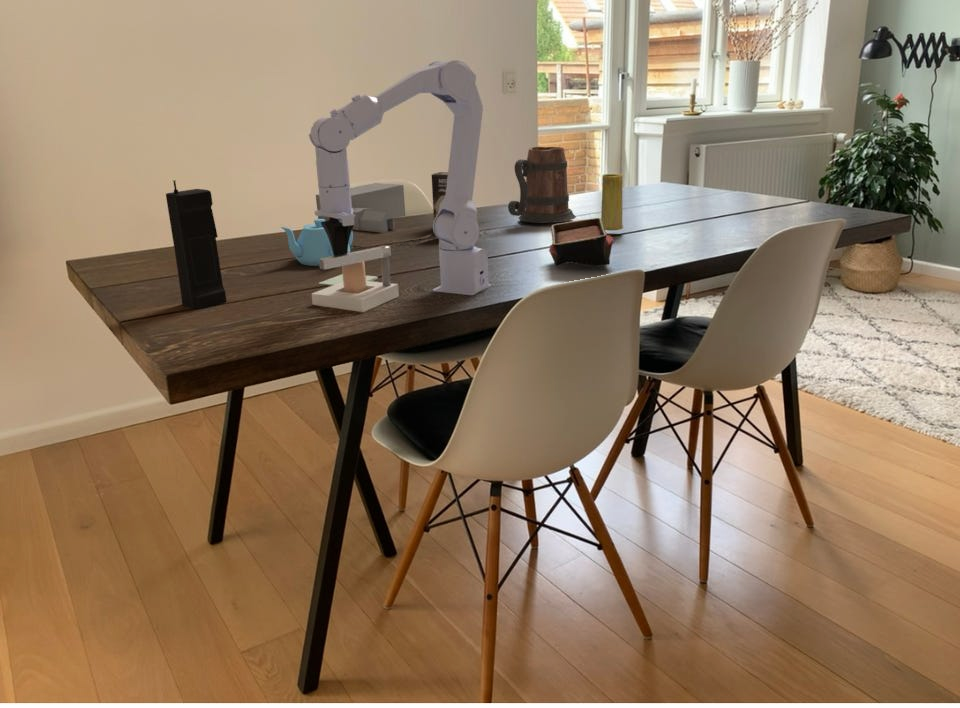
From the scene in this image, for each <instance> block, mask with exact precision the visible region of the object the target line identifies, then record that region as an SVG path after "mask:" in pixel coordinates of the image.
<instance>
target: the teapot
mask: <svg viewBox="0 0 960 708" xmlns="http://www.w3.org/2000/svg"><path fill="white" fill-rule="evenodd" d="M355 216H356V215H354V217H355ZM324 221H325V219H318V218H317V219H314V220H313V222H314V223H313V224H306V225H304V226H303V228H302V230H301V232H300V233H299V236H298V237H297V239H296V238H295V234H294V232H293V230H292V229H291V228H290V227H286V226H285V227H284V226H280V228H281V229H282V230H283V231H284V232H285V233H286V235H287V242H288V247H289V251H290V252H291V253H292V255H294V257H295V259H296V260H297V262H298V263H300V264H301V265H304V266H308V267H309V266H310V267H320V266H319V259H321V258H326V257H331V256H334V254H333V251H332V247H331V244H330V241H329V238H328V236H327V234H326V232H325V230H324V228H323V227H322V225H321V222H324ZM353 241H354V231H353V230H352V231H351V234H350V237H349V243H348V252H347V253H351V245H352V243H353Z"/></svg>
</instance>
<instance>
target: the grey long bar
mask: <svg viewBox="0 0 960 708" xmlns="http://www.w3.org/2000/svg"><path fill="white" fill-rule="evenodd" d="M391 250H392V249H391V246H390V245H380V246H377V247H372V248H367V249H362V250H356V251H352V252H351V251H350V253H346V254H341V255H336V256H331V257H326V258H321V259H319V266H318V267H319V269H321V270H323V271H325V270H331V269H334V268H338V267H339V268H340V267H342V266H344V265H349V264H354V263H359V262H363V261H364V262H368V261H372V260H373V261H374V260H376V259H381V258H382V257H389V258H390V257H391V256H392V252H391Z"/></svg>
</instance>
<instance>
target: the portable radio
mask: <svg viewBox="0 0 960 708" xmlns="http://www.w3.org/2000/svg"><path fill="white" fill-rule="evenodd" d="M176 182H177V180H175V179H174V180H173V187H174V190H173V192H167V193H165V198H166V199H165V200H166V205H167V210H168V217H169V223H170V230H171V236H172V242H173V248H174V255H175V256H174V257H175V261H176V268H177V275H178V282H179V289H180V297H181V306H184V307H188V308H190V309H194V310H202V309H207V308H210V307H213V306H217V305H218V306H219V305H221V304H225V303H227V295H226V290H225V287H224V285H223V278H222V273H221V272H222V271H221V265H220V264H221V263H220V258H219V251H218V243H217V238H218V232H217V227H216V222H215V221H216V220H215V217H214V213H213V209H212V206H213V204H214V203H213V199H212V198H213V197H212V191H210V190H208V189H203V188H202V189H200V188H193V189H186V190H178V189H177V184H176Z"/></svg>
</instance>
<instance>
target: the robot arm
mask: <svg viewBox="0 0 960 708" xmlns="http://www.w3.org/2000/svg"><path fill="white" fill-rule="evenodd" d="M476 80H477V75H476V73H475V72H474V71H473V70H472V69H471V68H470V66H469V65H468V64H467V63H465V62H464V61H463V60H460V59H454V60H450V61H449V60H447V61H443V60H442V61H439V60H437V61H435V60H434V61H432V62H431V63H429V64H428V65H425V66H422V67H419V68H417V69H416V70H414V71H412V72H411V73H408V74H407V75H406V76H404V77H403V78H402V79H400V80H399V81H396V83H393V84H392V85H391V86H389V87H387V88H386V89H384V90H383V91H381V92H380V93H378V94H376V95H375V96H371V95H368V94H363V95H360V94H355V95H353V96H352V97H351V102H349V103H348V104H346V105H344V106H343V107H341V108H339V109H335V108H334V109H331V110H330V111H329V114H330V117H320V118H318V119H317V120H315V121H314V122H313V125H312V126H311V127H310V133H309V134H308V137H309V140H310V142H311V144H312V145H313V147H314V148H315V149H314V150H315V159H316V160H315V164H316V165H315V166H316V174H317V175H316V177H317V182H318V183H317V185H318V194H319V197H320V207H321V209H320V210H319V211H317V210H315V211H314V215H315V216H317V217H318V216H326V217H329V219H330V220H328V221H324V222H321V225H322V227H323V228H324V230H325V232H326V234H327V236H328V238H329V241H330V244H331V247H332V251H333V254H334V256H336V255H341V254H346V253H347V252H348V243H349V237H350V234H351V231H352V232H353V227H354V215H353V208H352V204H351V192H350V188H351V183H350V181H351V180H350V169H349V160H348V153H347V148H348V146H349V145H350V142H351V141H353V140H356V138H358V137H360V136H362V135H364V133H365V134H366V133H367V132H368V131H370V130H372V129H373V128H375V127H376V126H378V125H381V123H382V120H383V117H384V114H385V113H386V112H388V111H390V110H391V109H393V108H396V107H397V106H399V105H400V104H403V103H404V102H406V101H408V100H410V99H412V98H414V97H416V96H417V95H419V94H431V95H432V96H434V97H435V98H437V99H438V100H440V101H442V102H443V103H444V104H445V105H446V106H447V108H449V110H450V111H451V112H452V113H453V124H452V135H451V143H450V151H449V159H448V160H449V161H448V169H447V172H448V177H447V187H446V195H445V197H444V199H443V200H442V202H441V203H440V205H439V212H438V214H437V216H436V217H435V219H434V218H433V223H432V231H433V233H435V234H434V235H435V237H436V238H437V239H438V257H439V274H440V275H439V276H440V285H439V286H437V287H435V288H433V289H432V292H437V293H448V294H458V295H468V296H474V295H476V294H478V293H479V292H482V291H484V290H486V289H488V288H490V287H491V286H492V285H491V283H490V277H489V276H490V273H489V272H490V271H489V257H488V256H489V255H488V253H487V251H486V250H485V249H484V248H480V247H477V246H475V244H476V242H477V240H478V239H479V236H480V226H479V223H478V218H477V217H478V210H477V207H476V206H475V203H474V201H473V196H474V187H475V180H476V172H477V171H476V170H477V164H478V163H477V162H478V153H479V146H480V145H479V144H480V136H481V128H482V120H483V111H484V106H483V101H482V99H481V96H480V94H479V91H478V90H479V89H478V87H477V85H476Z"/></svg>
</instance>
